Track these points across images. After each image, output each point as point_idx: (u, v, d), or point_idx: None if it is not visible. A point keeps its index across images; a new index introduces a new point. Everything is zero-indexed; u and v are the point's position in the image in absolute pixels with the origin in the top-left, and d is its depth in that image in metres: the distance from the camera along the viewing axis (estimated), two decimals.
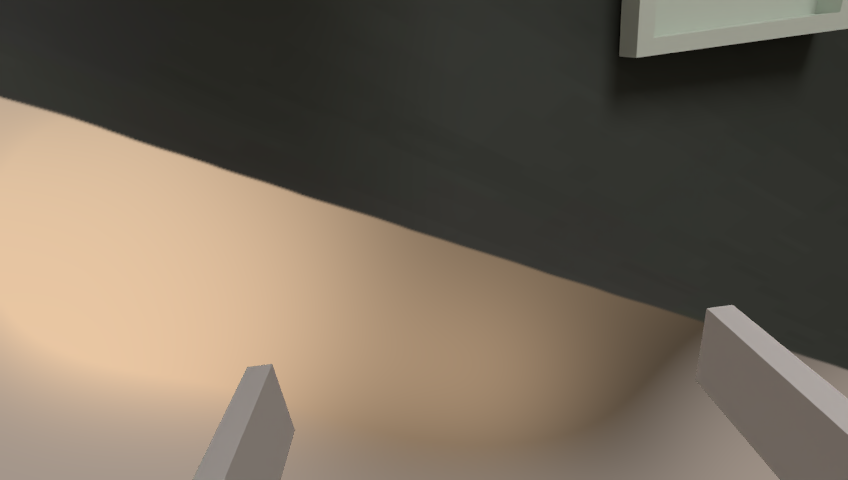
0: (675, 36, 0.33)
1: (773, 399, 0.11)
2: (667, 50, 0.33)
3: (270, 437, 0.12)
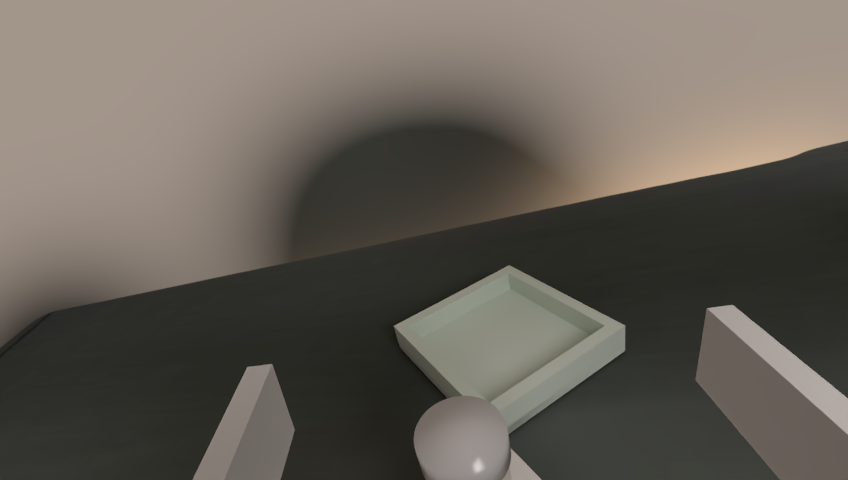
0: (496, 278, 0.51)
1: (773, 399, 0.11)
2: (495, 273, 0.52)
3: (270, 437, 0.12)
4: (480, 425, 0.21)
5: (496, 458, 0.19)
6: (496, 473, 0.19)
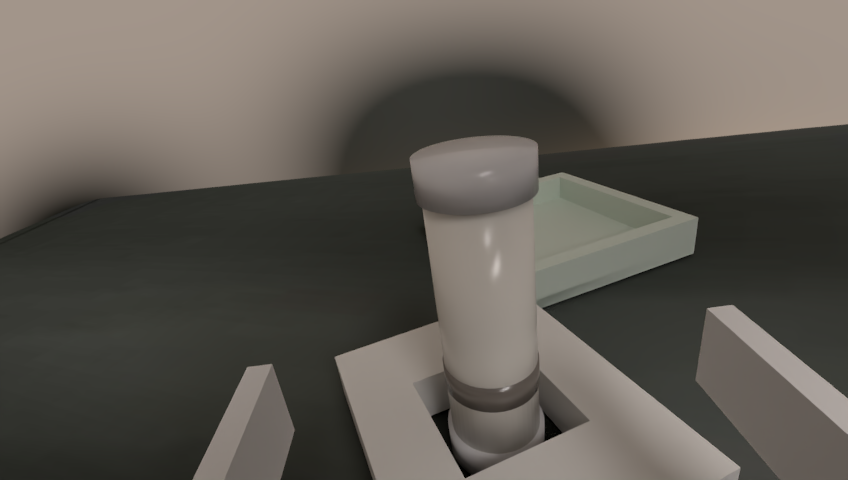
0: (546, 180, 0.45)
1: (773, 399, 0.11)
2: (545, 177, 0.46)
3: (270, 437, 0.12)
4: (501, 146, 0.15)
5: (517, 159, 0.14)
6: (514, 184, 0.14)
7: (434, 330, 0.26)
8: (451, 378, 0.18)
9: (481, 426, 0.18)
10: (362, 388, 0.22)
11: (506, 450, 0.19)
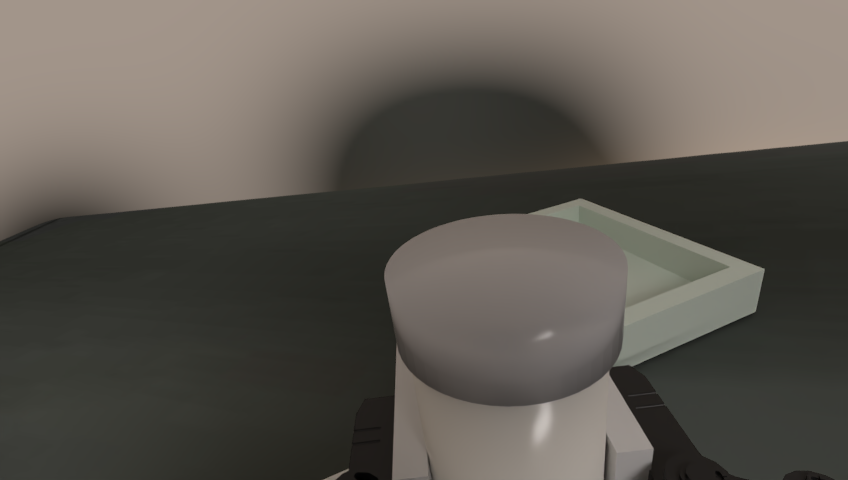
0: (562, 209, 0.38)
1: None
2: (561, 205, 0.39)
3: None
4: (553, 250, 0.08)
5: (599, 302, 0.07)
6: (591, 350, 0.07)
7: None
8: None
9: None
10: None
11: None
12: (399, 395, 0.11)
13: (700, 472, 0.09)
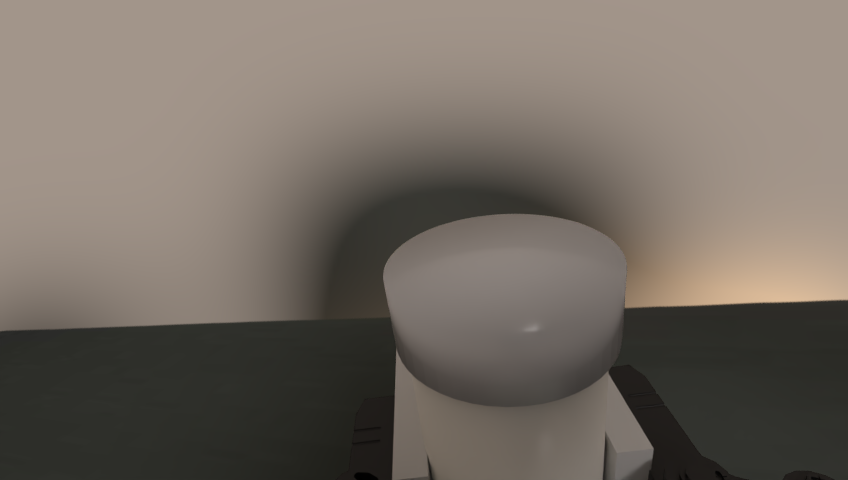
0: None
1: None
2: None
3: None
4: (552, 250, 0.08)
5: (598, 302, 0.07)
6: (589, 350, 0.07)
7: None
8: None
9: None
10: None
11: None
12: (399, 395, 0.11)
13: (700, 472, 0.09)
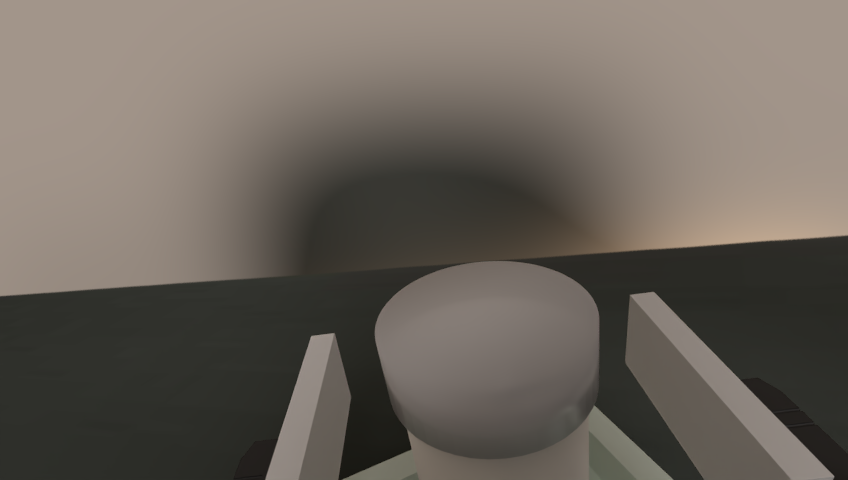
0: None
1: (675, 375, 0.12)
2: None
3: (336, 399, 0.13)
4: (532, 303, 0.09)
5: (569, 363, 0.07)
6: (563, 406, 0.07)
7: None
8: None
9: None
10: None
11: None
12: (282, 441, 0.11)
13: None
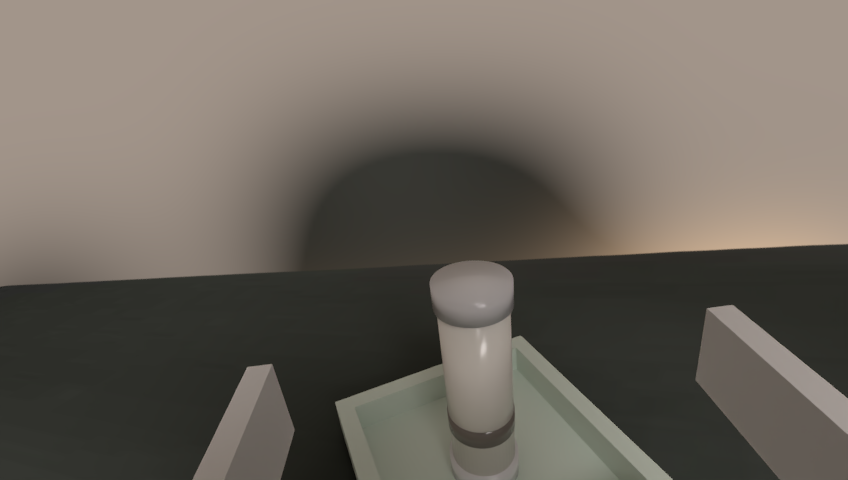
0: None
1: (772, 399, 0.11)
2: None
3: (270, 437, 0.12)
4: (490, 277, 0.24)
5: (499, 295, 0.22)
6: (497, 310, 0.22)
7: None
8: (453, 423, 0.26)
9: (473, 457, 0.26)
10: None
11: (490, 474, 0.27)
12: None
13: None
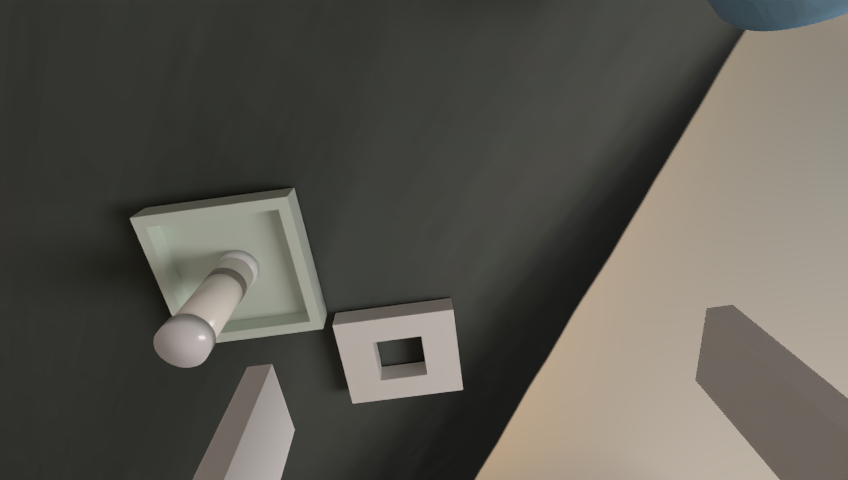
0: (151, 241, 0.46)
1: (773, 399, 0.11)
2: (140, 238, 0.45)
3: (270, 437, 0.12)
4: (181, 336, 0.36)
5: (204, 338, 0.37)
6: (209, 334, 0.37)
7: (349, 367, 0.54)
8: None
9: None
10: (376, 395, 0.56)
11: (253, 277, 0.48)
12: None
13: None
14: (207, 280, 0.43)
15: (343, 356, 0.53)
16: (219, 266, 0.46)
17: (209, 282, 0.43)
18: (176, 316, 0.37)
